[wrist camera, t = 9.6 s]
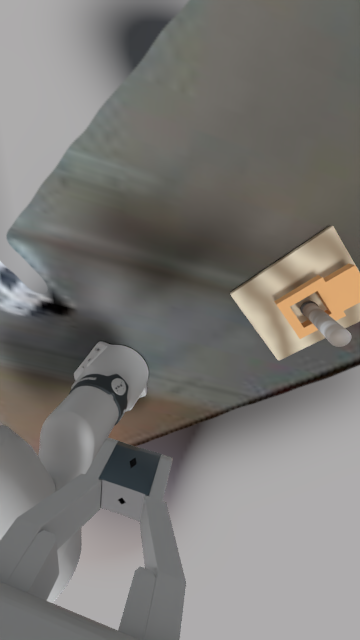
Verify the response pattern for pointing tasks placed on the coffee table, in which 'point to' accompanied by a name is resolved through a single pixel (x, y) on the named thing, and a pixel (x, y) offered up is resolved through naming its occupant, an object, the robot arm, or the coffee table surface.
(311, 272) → the pipe stand
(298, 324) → the collar
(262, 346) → the coffee table surface
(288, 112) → the coffee table surface
